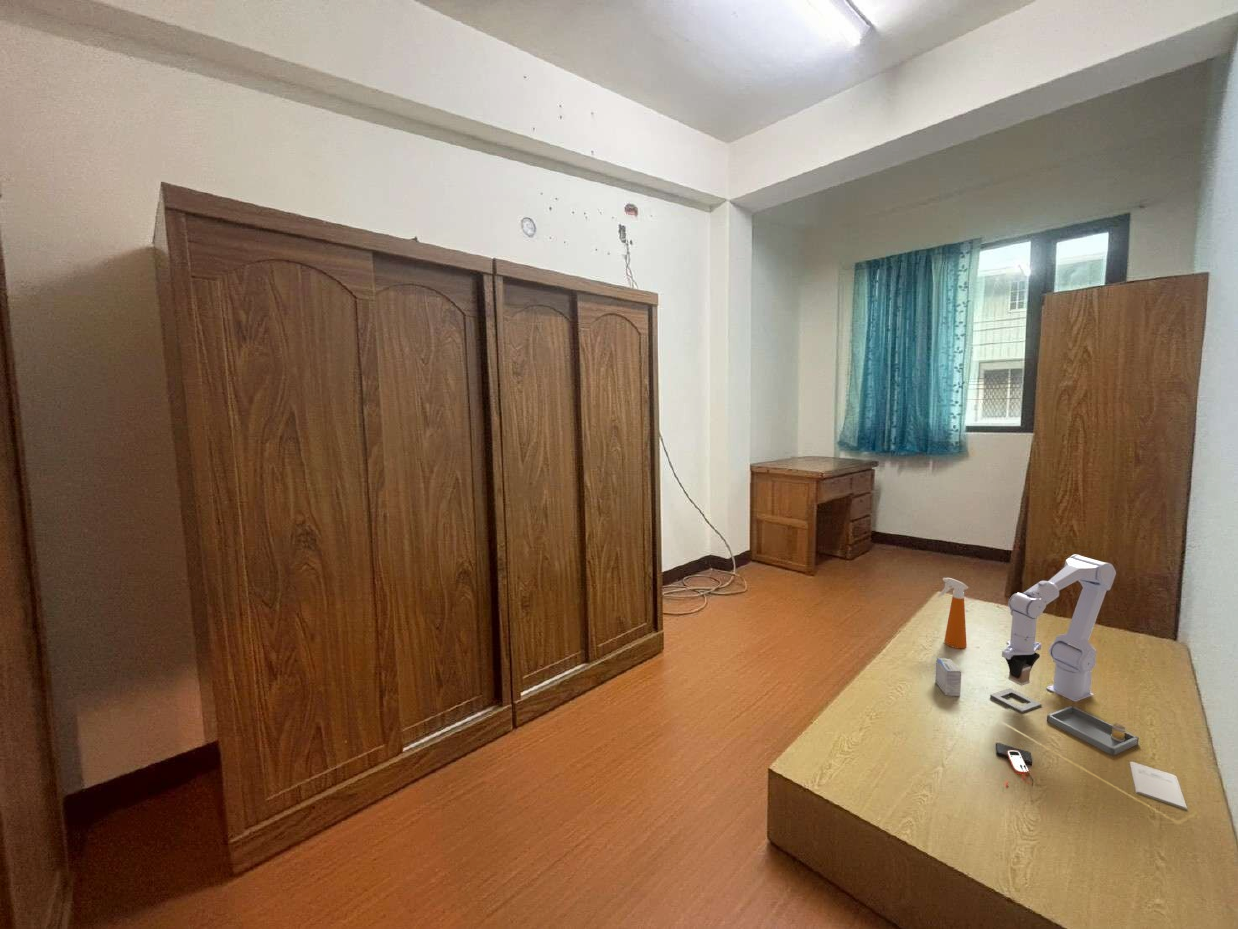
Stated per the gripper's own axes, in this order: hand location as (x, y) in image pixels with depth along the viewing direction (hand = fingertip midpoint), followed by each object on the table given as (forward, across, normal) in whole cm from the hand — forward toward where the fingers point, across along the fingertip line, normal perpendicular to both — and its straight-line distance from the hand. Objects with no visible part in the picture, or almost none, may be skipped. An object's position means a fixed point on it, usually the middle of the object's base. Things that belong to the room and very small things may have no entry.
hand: (1019, 675), depth 153 cm
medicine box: (+10, +12, -13) cm, 21 cm away
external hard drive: (+10, +4, +34) cm, 36 cm away
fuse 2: (+9, -7, +21) cm, 24 cm away
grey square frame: (+9, 0, 0) cm, 9 cm away
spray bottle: (+10, -16, -33) cm, 38 cm away
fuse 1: (+2, 0, 0) cm, 2 cm away
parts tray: (+9, -4, +16) cm, 19 cm away
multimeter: (+10, +28, +19) cm, 36 cm away
